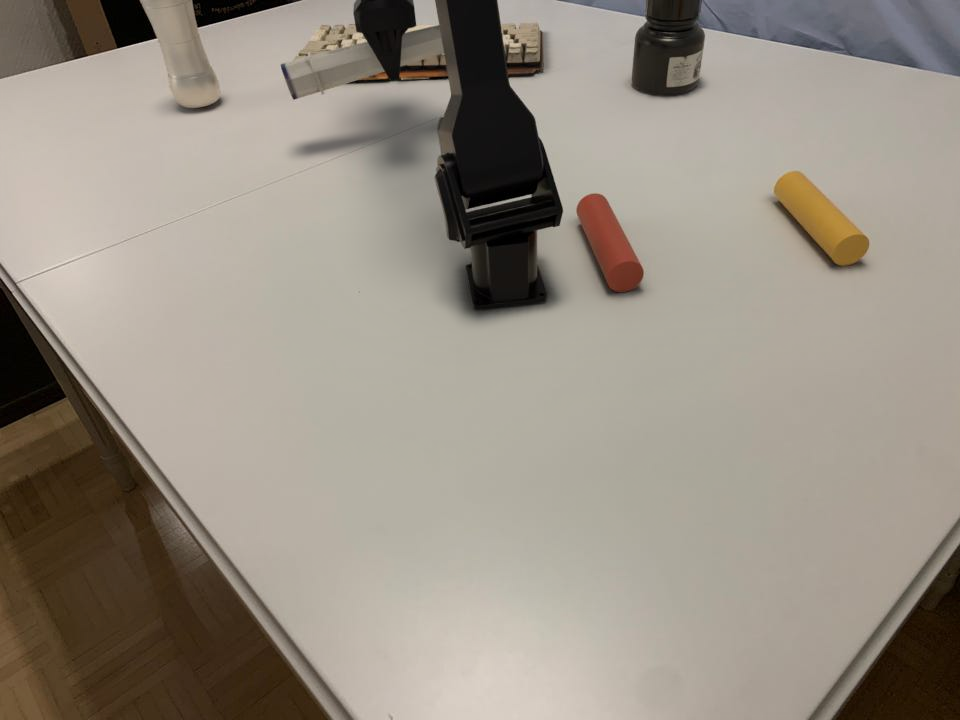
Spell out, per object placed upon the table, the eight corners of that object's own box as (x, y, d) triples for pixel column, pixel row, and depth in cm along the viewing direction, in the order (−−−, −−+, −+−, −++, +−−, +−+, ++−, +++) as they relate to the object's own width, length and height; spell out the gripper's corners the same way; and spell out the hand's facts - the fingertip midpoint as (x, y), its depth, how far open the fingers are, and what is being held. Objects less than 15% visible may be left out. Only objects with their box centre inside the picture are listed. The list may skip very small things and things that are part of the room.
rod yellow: (863, 263, 63) (874, 232, 61) (828, 267, 63) (838, 236, 60) (801, 198, 72) (809, 169, 70) (770, 201, 72) (777, 172, 69)
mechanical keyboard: (542, 33, 115) (542, 10, 113) (544, 76, 101) (544, 52, 99) (315, 44, 118) (311, 22, 116) (286, 88, 104) (280, 64, 102)
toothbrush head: (278, 56, 82) (482, -6, 84) (299, 110, 87) (492, 51, 88) (281, 71, 78) (494, 6, 80) (303, 127, 83) (504, 64, 84)
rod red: (642, 289, 62) (645, 259, 60) (606, 294, 62) (608, 263, 59) (607, 220, 71) (609, 191, 69) (575, 224, 71) (576, 194, 68)
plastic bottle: (198, 117, 97) (143, -48, 84) (167, 108, 100) (109, -52, 87) (234, 100, 101) (187, -60, 88) (203, 92, 104) (153, -64, 91)
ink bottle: (683, 101, 91) (697, 1, 83) (619, 91, 95) (626, -6, 87) (707, 76, 97) (722, -20, 89) (646, 67, 101) (655, -26, 93)
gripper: (458, -70, 67) (469, 94, 78) (442, -102, 81) (454, 40, 92) (341, -59, 67) (368, 104, 77) (345, -93, 81) (368, 49, 91)
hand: (394, 72), depth 84 cm, fingers closed on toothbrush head, 5 cm apart
